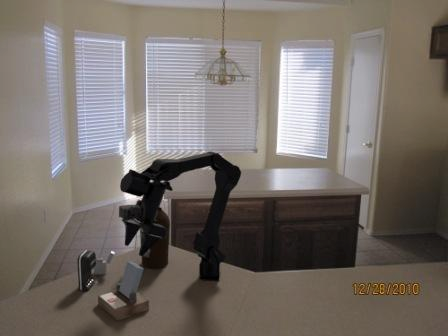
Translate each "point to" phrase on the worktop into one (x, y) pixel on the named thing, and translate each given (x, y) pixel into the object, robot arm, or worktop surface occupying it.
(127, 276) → the block
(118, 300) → the switch plate
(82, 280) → the battery charger
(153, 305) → the worktop surface
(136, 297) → the switch base
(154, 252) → the olive oil
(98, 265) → the lighter
